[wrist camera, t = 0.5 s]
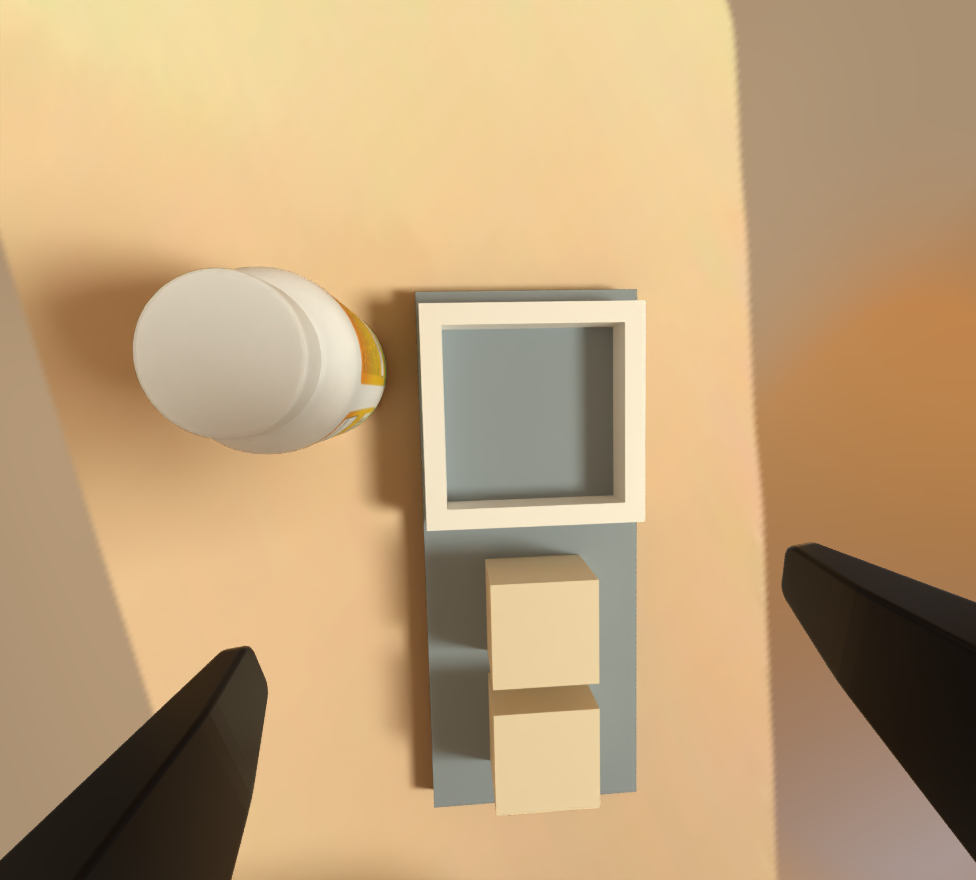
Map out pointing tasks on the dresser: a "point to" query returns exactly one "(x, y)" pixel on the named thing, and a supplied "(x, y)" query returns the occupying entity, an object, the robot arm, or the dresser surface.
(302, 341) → the supplement bottle
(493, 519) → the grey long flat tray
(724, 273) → the dresser surface
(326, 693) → the dresser surface
